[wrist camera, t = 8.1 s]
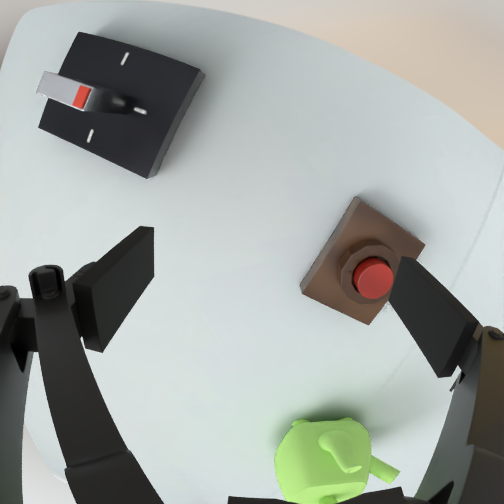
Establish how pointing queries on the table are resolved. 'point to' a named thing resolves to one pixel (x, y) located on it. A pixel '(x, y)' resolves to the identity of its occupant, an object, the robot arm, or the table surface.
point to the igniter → (357, 260)
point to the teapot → (327, 462)
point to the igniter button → (373, 278)
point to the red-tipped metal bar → (83, 94)
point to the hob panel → (139, 111)
